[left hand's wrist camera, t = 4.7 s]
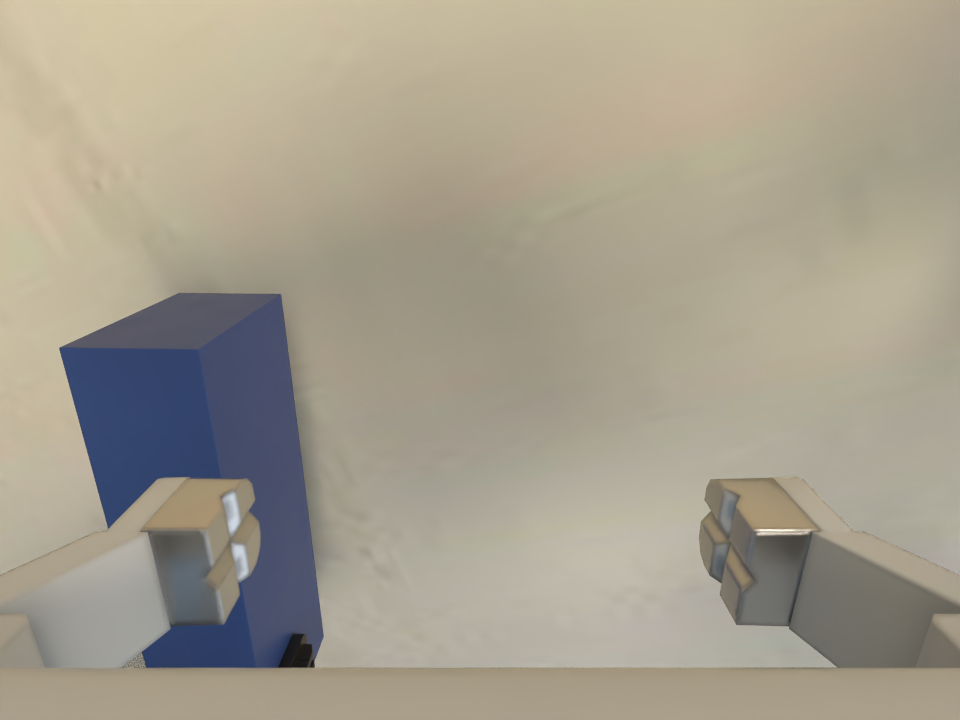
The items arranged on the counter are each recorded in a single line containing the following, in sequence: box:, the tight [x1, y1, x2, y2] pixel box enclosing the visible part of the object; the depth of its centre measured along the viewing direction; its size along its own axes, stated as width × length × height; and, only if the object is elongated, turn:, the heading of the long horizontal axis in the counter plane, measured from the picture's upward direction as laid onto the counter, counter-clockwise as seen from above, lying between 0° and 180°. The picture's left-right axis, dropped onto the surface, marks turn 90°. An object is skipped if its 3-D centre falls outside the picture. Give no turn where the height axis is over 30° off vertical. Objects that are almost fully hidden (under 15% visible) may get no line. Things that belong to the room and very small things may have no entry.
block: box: [59, 293, 324, 668], centre depth 30 cm, size 23×6×9 cm, turn 0°
